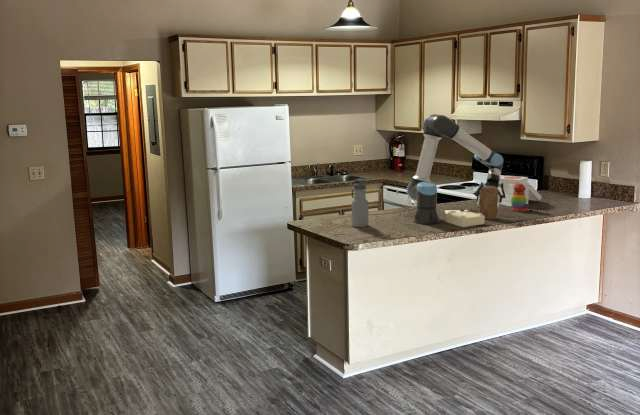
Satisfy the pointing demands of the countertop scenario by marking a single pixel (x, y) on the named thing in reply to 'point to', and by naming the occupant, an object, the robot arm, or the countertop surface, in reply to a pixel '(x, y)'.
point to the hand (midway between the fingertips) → (487, 205)
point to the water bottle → (359, 204)
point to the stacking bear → (519, 198)
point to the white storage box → (509, 190)
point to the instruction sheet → (452, 211)
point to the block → (489, 202)
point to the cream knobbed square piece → (465, 218)
